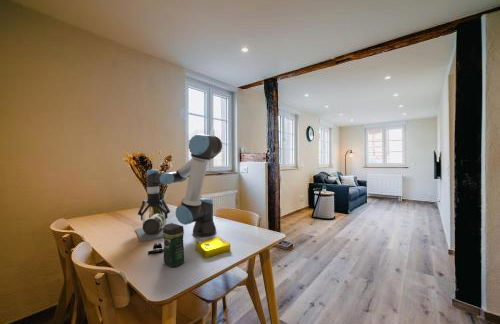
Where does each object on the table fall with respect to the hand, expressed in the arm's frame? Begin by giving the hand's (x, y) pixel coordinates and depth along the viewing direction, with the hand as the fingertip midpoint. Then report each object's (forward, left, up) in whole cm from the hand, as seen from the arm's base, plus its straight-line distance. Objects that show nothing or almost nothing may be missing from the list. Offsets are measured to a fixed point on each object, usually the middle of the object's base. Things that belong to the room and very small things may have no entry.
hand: (154, 224), depth 148 cm
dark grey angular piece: (-33, +5, -6) cm, 34 cm away
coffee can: (+7, -3, 0) cm, 8 cm away
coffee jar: (-52, +1, -6) cm, 52 cm away
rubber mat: (0, 0, -6) cm, 6 cm away
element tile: (-49, -20, -6) cm, 53 cm away
